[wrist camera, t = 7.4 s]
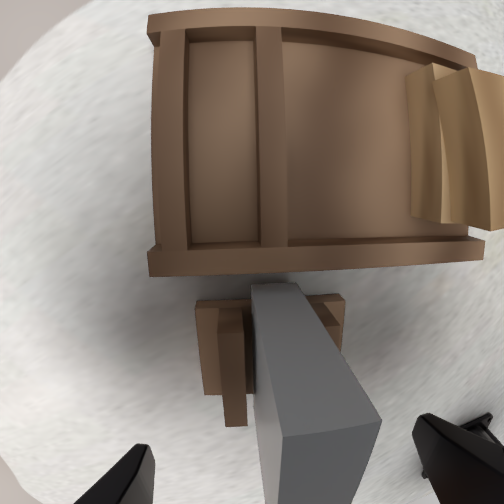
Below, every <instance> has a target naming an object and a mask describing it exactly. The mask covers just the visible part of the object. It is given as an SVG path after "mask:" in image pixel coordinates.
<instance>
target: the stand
mask: <svg viewBox="0 0 504 504" xmlns="http://www.w3.org/2000/svg"><path fill="white" fill-rule="evenodd" d="M305 297H306V299H307V300H308V302H309V303H310V305H311V307H312V308H313V310H314V311H315V313H316V314H317V316H318V318H319V319H320V321H321V322H322V324H323V325H324V327H325V329H326V330H327V332H328V333H329V335H330V337H331V338H332V340H333V341H334V343H335V345H336V346H337V348H338V349H339V351H341V342H342V333H343V323H344V312H345V300H344V299H343V298H342V297H341V295H340V294H327V295H313V296H305ZM195 317H196V327H197V336H198V346H199V355H200V363H201V371H202V379H203V387H204V395H222V397H223V407H224V417H225V426H226V427H240V426H248V424H247V402H246V394H253V355H252V306H251V299H237V300H207V301H197V302H196V306H195Z"/></svg>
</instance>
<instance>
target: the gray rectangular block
mask: <svg viewBox="0 0 504 504" xmlns="http://www.w3.org/2000/svg"><path fill="white" fill-rule="evenodd" d="M251 306H252V355H253V403H254V415H255V423H256V432H257V440H258V448H259V457H260V465H261V473H262V481H263V489H264V497H265V504H351V502H352V500H353V498H354V496H355V493H356V491H357V489H358V486H359V484H360V481H361V479H362V476H363V474H364V471H365V469H366V466H367V464H368V461H369V458H370V455H371V453H372V450H373V447H374V444H375V441H376V438H377V435H378V432H379V429H380V426H381V423H382V419H381V417H380V416H379V414H378V412H377V411H376V409H375V408H374V406H373V404H372V403H371V401H370V399H369V398H368V396H367V394H366V393H365V391H364V390H363V388H362V386H361V385H360V383H359V381H358V380H357V378H356V377H355V375H354V373H353V372H352V370H351V369H350V367H349V365H348V364H347V362H346V360H345V359H344V357H343V356H342V354H341V352H340V351H339V349H338V348H337V346H336V345H335V343H334V341H333V340H332V338H331V337H330V335H329V333H328V332H327V330H326V329H325V327H324V325H323V324H322V322H321V321H320V319H319V318H318V316H317V314H316V313H315V311H314V310H313V308H312V307H311V305H310V303H309V302H308V300H307V299H306V297H305V296H304V294H303V293H302V291H301V289H300V288H299V286H298V285H297V283H296V282H295V283H273V284H251Z"/></svg>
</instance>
